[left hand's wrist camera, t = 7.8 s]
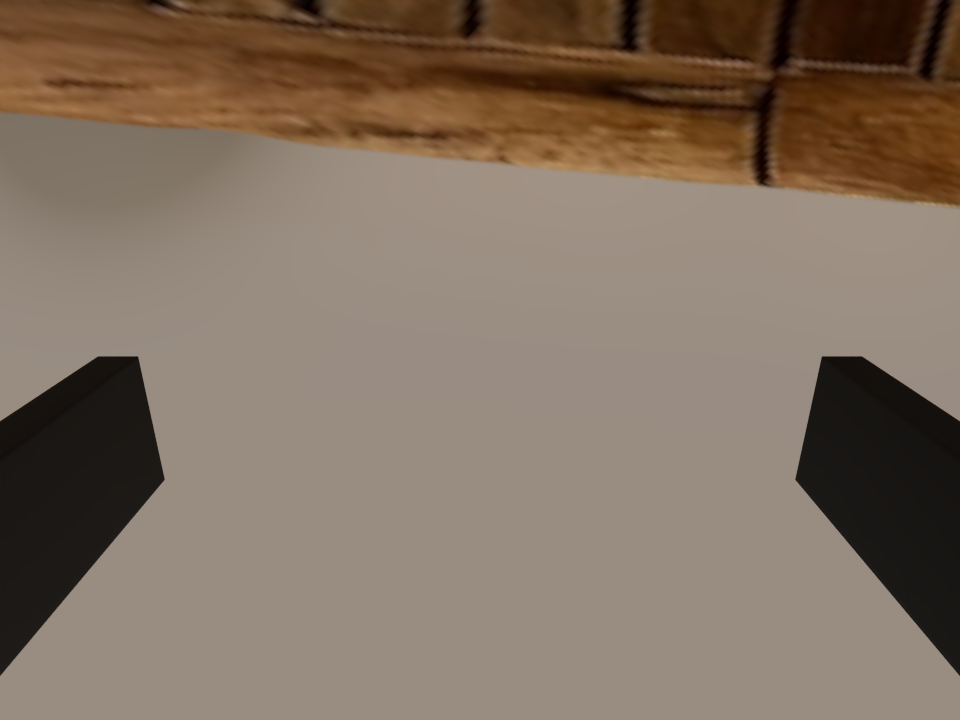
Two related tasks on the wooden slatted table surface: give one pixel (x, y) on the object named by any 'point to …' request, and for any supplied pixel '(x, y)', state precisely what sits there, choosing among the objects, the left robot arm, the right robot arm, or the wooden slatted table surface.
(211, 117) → the wooden slatted table surface
